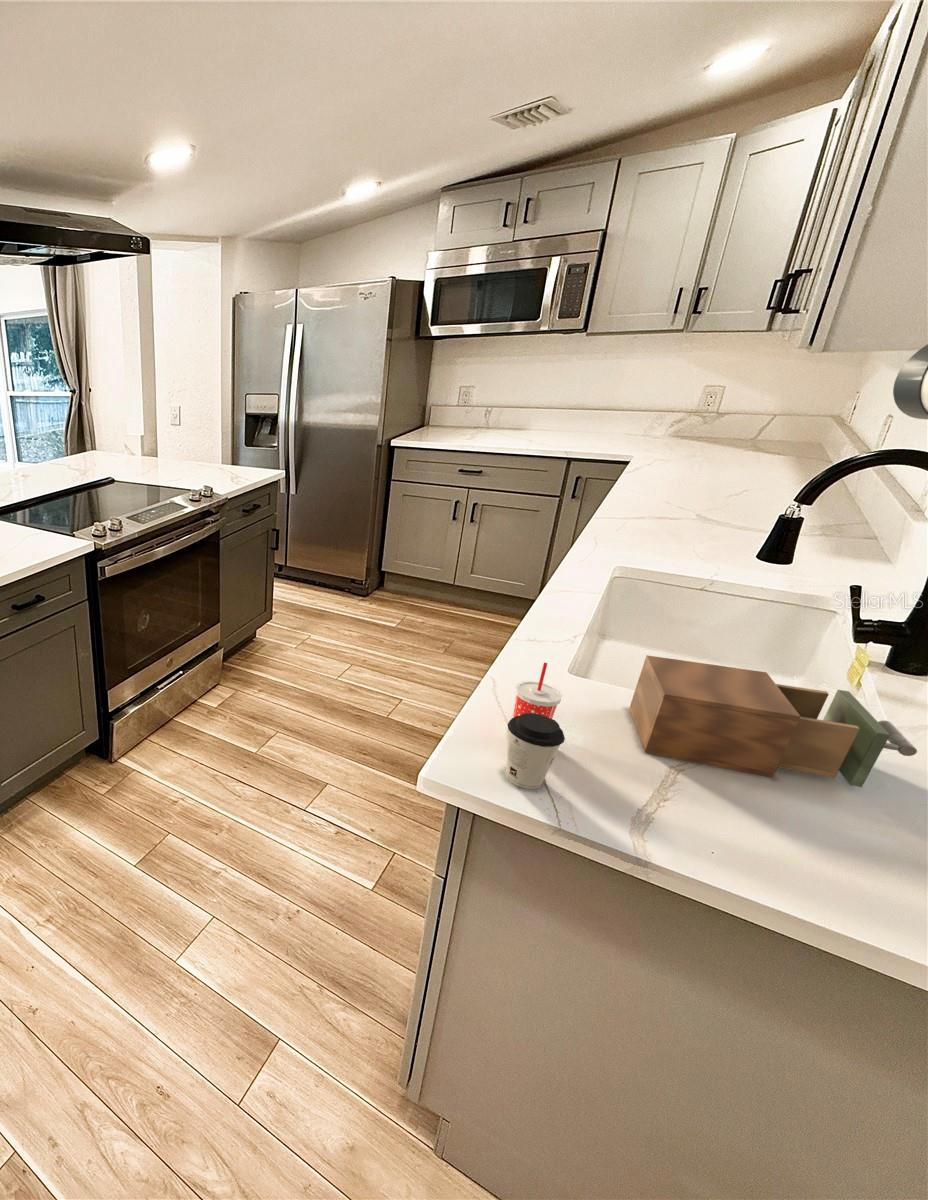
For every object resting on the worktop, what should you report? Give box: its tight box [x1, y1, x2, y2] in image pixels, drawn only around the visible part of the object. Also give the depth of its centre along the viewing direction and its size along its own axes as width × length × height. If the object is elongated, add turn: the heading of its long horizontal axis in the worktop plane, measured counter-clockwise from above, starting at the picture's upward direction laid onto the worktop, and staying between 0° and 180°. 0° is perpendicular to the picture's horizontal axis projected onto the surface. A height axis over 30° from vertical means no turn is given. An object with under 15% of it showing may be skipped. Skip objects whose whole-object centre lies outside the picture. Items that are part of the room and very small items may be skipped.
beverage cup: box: [512, 662, 563, 719], centre depth 96 cm, size 6×6×14 cm
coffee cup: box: [505, 713, 566, 790], centre depth 89 cm, size 7×7×10 cm
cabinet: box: [628, 655, 800, 778], centre depth 94 cm, size 15×13×11 cm
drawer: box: [775, 683, 918, 788], centre depth 88 cm, size 18×11×9 cm, turn 62°
